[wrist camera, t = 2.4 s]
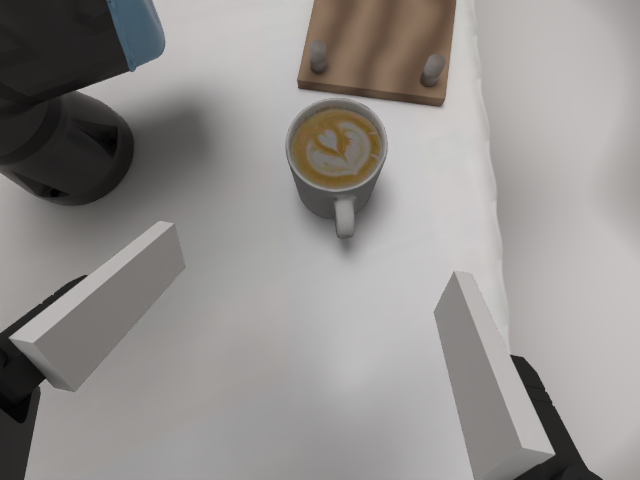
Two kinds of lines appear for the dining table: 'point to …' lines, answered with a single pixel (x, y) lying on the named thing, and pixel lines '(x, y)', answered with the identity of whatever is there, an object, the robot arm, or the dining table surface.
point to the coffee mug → (336, 158)
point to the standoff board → (379, 49)
